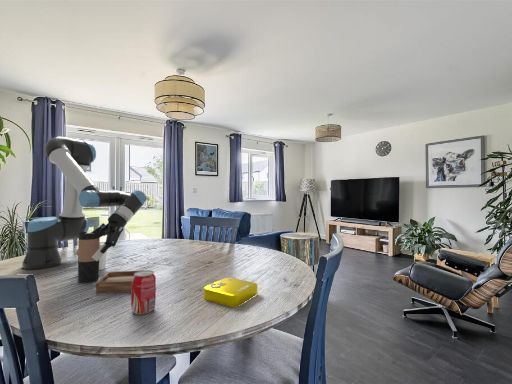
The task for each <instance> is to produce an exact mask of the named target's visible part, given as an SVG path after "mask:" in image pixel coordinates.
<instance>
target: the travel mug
mask: <svg viewBox="0 0 512 384" xmlns="http://www.w3.org/2000/svg"><path fill="white" fill-rule="evenodd" d="M100 238H101V237H100V232H98V231H94V230H93V231H91V232H80V233H79V238H78V239H77V240H78V241H77V242H78V243H77V246H78V248H77V249H78V255H77V279H78V280H77V281H78V283H79V284H90V283H94V282H96V281H97V282H98V281H99V278H100V277H99V273H100V272H99V271H100V270H99V260H98V261H96V260H94V259H93V258H92V256H93V255H94V254H95V253H96V252H97V250H98V249H99V248H100V242H101V241H100Z"/></svg>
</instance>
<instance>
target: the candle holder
mask: <svg viewBox="0 0 512 384" xmlns="http://www.w3.org/2000/svg"><path fill="white" fill-rule="evenodd" d="M105 242H106V241H100V247H101V246H102V245H103V244H105ZM105 245H106V244H105ZM107 253H108V250H107V251H106V252H105V253H104V254H103V255H102V256H101V258H100V259H99V271H102V270H104V269H105V268H106V266H107V265H106V264H107Z"/></svg>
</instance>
